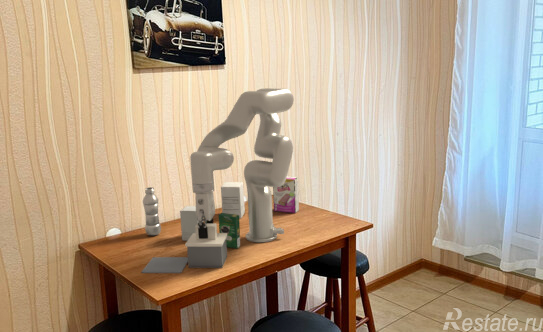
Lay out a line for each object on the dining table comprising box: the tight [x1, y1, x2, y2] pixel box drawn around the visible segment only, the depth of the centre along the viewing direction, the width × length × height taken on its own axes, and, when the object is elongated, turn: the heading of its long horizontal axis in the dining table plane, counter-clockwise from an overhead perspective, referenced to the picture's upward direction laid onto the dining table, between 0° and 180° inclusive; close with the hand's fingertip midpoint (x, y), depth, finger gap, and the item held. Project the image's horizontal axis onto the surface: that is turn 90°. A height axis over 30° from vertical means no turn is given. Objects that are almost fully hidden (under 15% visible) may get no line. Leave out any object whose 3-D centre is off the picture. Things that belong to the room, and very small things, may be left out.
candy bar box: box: [272, 175, 300, 214], centre depth 239 cm, size 11×5×16 cm, turn 68°
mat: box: [141, 256, 188, 274], centre depth 183 cm, size 14×13×1 cm
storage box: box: [186, 239, 228, 269], centre depth 183 cm, size 12×10×8 cm
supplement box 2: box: [220, 181, 246, 219], centre depth 235 cm, size 9×9×15 cm
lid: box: [185, 223, 227, 248], centre depth 182 cm, size 13×11×6 cm
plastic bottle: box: [142, 186, 162, 236], centre depth 213 cm, size 6×7×20 cm
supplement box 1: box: [179, 205, 204, 242], centre depth 208 cm, size 7×7×13 cm
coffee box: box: [218, 212, 241, 250], centre depth 197 cm, size 8×3×13 cm, turn 66°
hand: (206, 233), depth 182 cm, fingers open, 9 cm apart
